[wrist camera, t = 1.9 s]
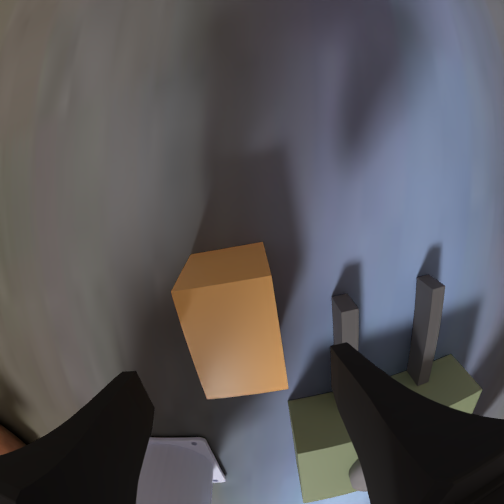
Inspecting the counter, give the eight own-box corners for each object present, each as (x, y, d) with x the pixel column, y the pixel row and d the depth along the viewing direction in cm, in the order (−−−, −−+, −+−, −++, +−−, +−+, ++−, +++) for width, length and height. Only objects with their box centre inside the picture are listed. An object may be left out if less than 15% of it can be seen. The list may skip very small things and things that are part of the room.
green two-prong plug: (296, 460, 22) (305, 512, 16) (273, 307, 17) (287, 373, 11) (430, 420, 22) (455, 461, 16) (465, 264, 17) (521, 298, 11)
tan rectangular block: (214, 344, 18) (207, 399, 13) (190, 254, 16) (171, 291, 11) (277, 334, 18) (288, 388, 13) (262, 241, 16) (271, 275, 11)
